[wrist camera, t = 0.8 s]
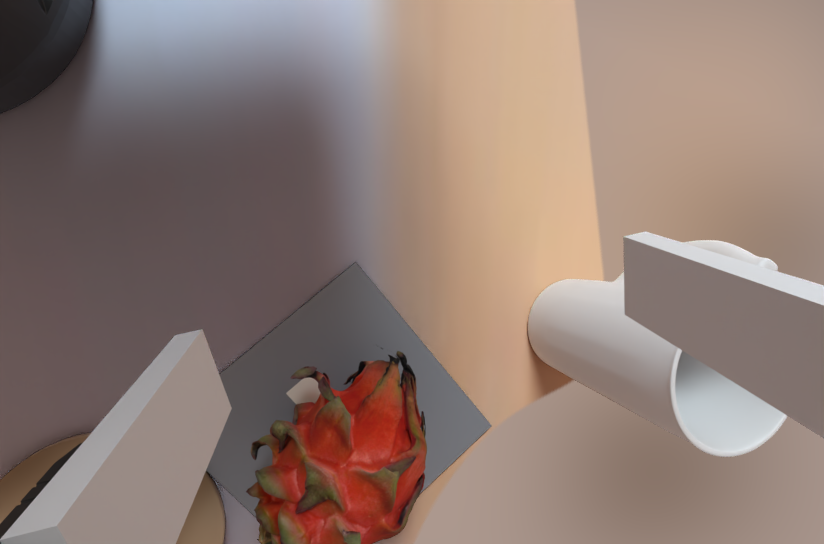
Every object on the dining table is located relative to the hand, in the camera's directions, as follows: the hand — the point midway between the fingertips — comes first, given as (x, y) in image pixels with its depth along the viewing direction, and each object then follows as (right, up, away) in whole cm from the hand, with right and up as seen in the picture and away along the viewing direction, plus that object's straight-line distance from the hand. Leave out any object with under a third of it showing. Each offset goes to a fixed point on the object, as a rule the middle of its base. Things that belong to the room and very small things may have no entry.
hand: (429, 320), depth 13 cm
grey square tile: (-5, -8, +13) cm, 16 cm away
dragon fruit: (-5, -8, +13) cm, 16 cm away
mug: (+11, -1, +16) cm, 20 cm away
